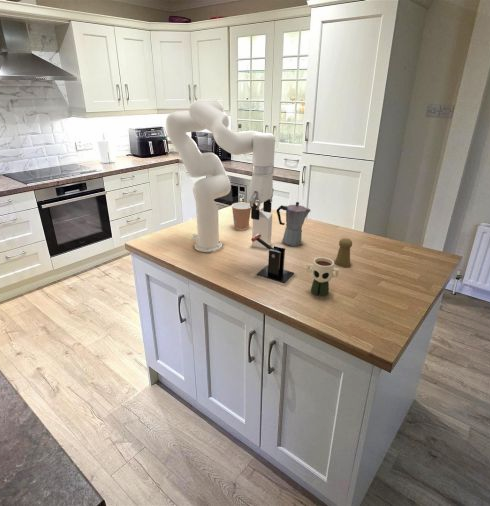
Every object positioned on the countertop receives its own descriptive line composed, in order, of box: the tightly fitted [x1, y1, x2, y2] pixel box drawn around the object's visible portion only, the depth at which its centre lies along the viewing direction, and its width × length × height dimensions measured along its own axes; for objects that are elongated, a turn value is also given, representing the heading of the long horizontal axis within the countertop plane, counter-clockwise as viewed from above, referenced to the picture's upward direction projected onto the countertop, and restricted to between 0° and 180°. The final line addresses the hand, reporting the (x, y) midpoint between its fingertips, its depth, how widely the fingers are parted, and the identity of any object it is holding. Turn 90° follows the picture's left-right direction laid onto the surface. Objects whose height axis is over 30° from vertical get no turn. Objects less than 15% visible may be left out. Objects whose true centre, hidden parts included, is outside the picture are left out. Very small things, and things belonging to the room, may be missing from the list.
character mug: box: [306, 256, 340, 298], centre depth 122 cm, size 11×7×13 cm, turn 69°
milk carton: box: [251, 206, 273, 249], centre depth 157 cm, size 7×7×19 cm
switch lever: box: [250, 234, 282, 255], centre depth 132 cm, size 12×5×2 cm, turn 61°
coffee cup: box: [231, 201, 251, 231], centre depth 179 cm, size 10×10×12 cm
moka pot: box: [276, 201, 312, 247], centre depth 160 cm, size 10×15×20 cm, turn 89°
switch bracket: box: [256, 245, 295, 284], centre depth 133 cm, size 12×9×12 cm
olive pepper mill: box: [334, 237, 353, 268], centre depth 144 cm, size 6×6×11 cm
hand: (261, 215), depth 132 cm, fingers open, 9 cm apart
